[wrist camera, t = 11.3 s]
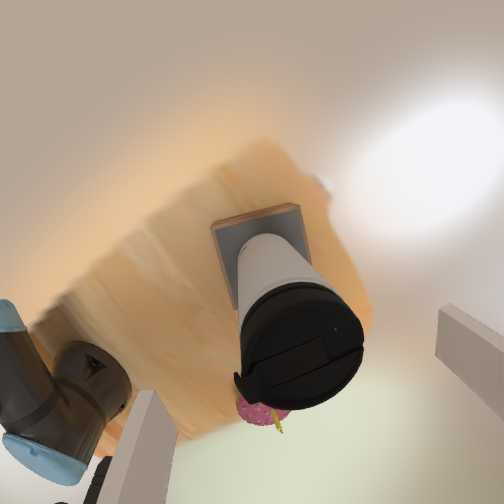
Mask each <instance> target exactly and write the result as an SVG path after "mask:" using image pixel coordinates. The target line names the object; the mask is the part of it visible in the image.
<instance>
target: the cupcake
mask: <svg viewBox="0 0 504 504" xmlns="http://www.w3.org/2000/svg"><path fill="white" fill-rule="evenodd" d="M236 407H237V410H238V413H239V415H240V416H241V418H243V419H244V420H246V421H247V423H252V424H255V425H258V426H264V425H270V424H271V425H272V424H274V423H275V425H276V428H277V430H278V431H280V432H281V433H283V432H282V427H281V425H280V422H279V421H280V420H282V419H284V418H285V417H286V416H287V415H288V414H289V413H290V412H291V411H289V410H279V409H274V408H271V407H268V406H266V405H264V404H262V403H261V402H259V403H255V404H252V405H249V404H248V403H247V401H246V400H245V399H244V398H243V396H242V395H241V393H240V392H239V394H238V397H237V400H236Z"/></svg>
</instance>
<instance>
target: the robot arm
mask: <svg viewBox="0 0 504 504" xmlns="http://www.w3.org/2000/svg"><path fill="white" fill-rule="evenodd" d="M27 330H28V329H27V327H26V326H24V324H23V322H22V320H21V318H20V316H19V314H18V312H17V310H16V308H15V306H14V305H13V304H12V303H11V302H10V301H8V300H5V299H1V300H0V424H1V425H2V426H3V427H4V429H5V430H6V433H4V434H3V439H2V442H3V444H4V445H5V448H6V449H7V450H8V451H9V453H10V454H11V455H12V456H13V457H14V458H16V459H17V460H18V461H19V462H20V463H22V464H23V465H24V466H26V467H27V468H28V469H30V470H31V471H33V472H34V473H36V474H38V475H40V476H41V477H43V478H45V479H47V480H50V481H52V482H55V483H57V484H60V485H65V486H74V485H76V484H78V483H79V481H80V480H81V478H82V476H83V474H84V472H85V471H86V470H87V469H88V465H89V463H90V460H91V458H92V456H93V453H94V451H95V448H96V446H97V444H98V441H99V439H100V437H101V435H102V432H103V430H104V428H105V426H106V424H107V423H108V422H109V421H111V420H112V419H113V418H114V417H116V416H117V415H118V414H119V413H120V412H122V411H123V410H124V409H125V407H126V406H127V404H128V401H129V399H130V397H131V384H130V381H129V379H128V376H127V375H126V373H125V371H124V370H123V368H122V367H121V366H120V365H119V363H118V362H117V361H116V360H115V359H114V358H113V357H111V356H110V355H109V354H108V353H106V352H105V351H103V350H102V349H100V348H98V347H96V346H94V345H92V344H89V343H85V342H71V343H68V344H67V345H65V346H64V347H63V348H62V349H61V350H60V351H59V352H58V354H57V356H56V358H55V361H54V364H53V367H52V370H51V373H50V372H49V370H48V369H47V367H46V365H45V364H44V362H43V360H42V358H41V357H40V355H39V353H38V351H37V349H36V348H35V346H34V344H33V342H32V340H31V338H30V336H29V334H28V331H27ZM437 331H438V332H437V341H436V351H435V356H436V357H437V358H438V359H440V360H441V361H442V362H443V363H444V364H445V365H446V366H447V367H448V368H449V369H451V371H453V372H454V373H455V374H456V375H457V376H458V377H459V378H460V379H461V380H462V381H463V382H465V384H466V385H468V386H469V387H470V388H471V389H472V390H473V391H474V392H475V393H476V394H477V395H478V396H479V397H480V398H481V399H482V400H483V401H484V402H485V403H486V404H487V405H488V406H490V408H491V409H492V410H493V411H494V412H495V413H497V414H498V416H499V417H500V418H501V419H502V420H503V421H504V337H503V336H502V335H500V334H499V333H497V332H495V331H494V330H492V329H491V328H489V327H488V326H486V325H485V324H483V323H481V322H480V321H478V320H476V319H475V318H473V317H472V316H470V315H469V314H467V313H465V312H463V311H462V310H460V309H459V308H457V307H455V306H454V305H452V304H448V305H446V306H443V307H441V308H439V316H438V330H437ZM177 434H178V428H177V427H176V425H175V424H174V422H173V420H172V419H171V417H170V415H169V414H168V412H167V410H166V409H165V407H164V405H163V404H162V402H161V400H160V398H159V397H158V395H157V393H156V391H155V389H150V390H139V392H138V395H137V397H136V400H135V402H134V404H133V407H132V409H131V412H130V414H129V417H128V419H127V422H126V424H125V427H124V429H123V432H122V434H121V437H120V439H119V442H118V445H117V447H116V450H115V452H114V455H113V456H105V457H104V458H103V460H102V461H101V462H100V463H99V464H98V466H97V469H96V471H95V474H94V475H95V476H94V477H93V479H92V481H91V482H92V484H91V485H90V487H89V489H88V492H87V495H86V497H85V500H84V503H83V504H165V502H166V496H167V490H168V484H169V477H170V472H171V466H172V461H173V455H174V450H175V444H176V439H177ZM55 504H68V503H64V502H58V503H55Z"/></svg>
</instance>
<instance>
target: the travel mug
mask: <svg viewBox="0 0 504 504" xmlns="http://www.w3.org/2000/svg"><path fill="white" fill-rule="evenodd" d="M238 313H239V340H240V348H241V367H242V370H241V377H240V376H239V374H238V373H237V372H235V373H234V381H235V384H236V386H237V388H238V390H239V392H240V393H241V395H242V396H243V398H244V399H245V400H246V401H247V403H248V404H249V405H252V404H255V403H259V402H261V403H262V404H264V405H266V406H268V407H271V408H274V409H279V410H289V411H292V410H302V409H306V408H310V407H314V406H316V405H318V404H320V403H323V402H325V401H327V400H328V399H330V398H332V397H333V396H335V395H336V394H337V393H338V392H340V391H341V390H342V389H343V388H344V387H345V386H346V385H347V384H348V383H349V382H350V381H351V379H352V378H353V377H354V375H355V374H356V372H357V371H358V368H359V367H360V365H361V363H362V358H363V351H364V347H363V342H364V333H363V328H362V325H361V323H360V320H359V319H358V318H357V317H356V315H355V314H354V313H353V311H352V310H351V309H350V308H349V306H348V305H347V304H346V303H345V302H344V300H343V299H342V298H341V296H340V295H339V294H338V293H337V292H336V291H335V290H334V289H333V288H332V287H331V286H330V285H329V283H328V282H327V281H326V280H325V279H324V278H323V277H322V276H321V275H320V274H319V273H318V272H317V271H316V270H315V269H314V268H313V267H312V266H311V265H310V264H309V263H308V262H307V261H306V260H305V259H304V258H303V257H302V256H301V255H300V254H299V253H298V252H297V251H296V250H295V249H294V248H293V247H292V246H291V245H290V244H289V242H288V241H286V240H285V239H284V238H283V237H281V236H279V235H277V234H274V233H260V234H256V235H254V236H252V237H250V238H249V239H248V240H247V241H246V242H245V243H244V244H243V245H242V247H241V249H240V251H239V254H238Z"/></svg>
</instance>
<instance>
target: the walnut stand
mask: <svg viewBox="0 0 504 504" xmlns="http://www.w3.org/2000/svg"><path fill="white" fill-rule="evenodd" d="M210 228H211V231H212V235H213V239H214V242H215V246H216V250H217V253H218V257H219V260H220V264H221V267H222V271H223V274H224V278H225V281H226V285H227V288H228V292H229V295H230V299H231V302H232V305H233V309H234V310H237V309H238V254H239V251H240V249H241V247H242V245H243V244H244V243H245V242H246V241H247V240H248V239H249V238H250V237H252V236H254V235H256V234H260V233H274V234H277V235H279V236H281V237H283V238H284V239H285V240H286V241H288V242H289V244H290V245H291V246H292V247H293V248H294V249H295V250H296V251H297V252H298V253H299V254H300V255H301V256H302V257H303V258H304V259H305V260H306V261H307V262H308V263H309V264H310V265H311V266H312V262H311V257H310V252H309V247H308V242H307V237H306V232H305V228H304V223H303V218H302V214H301V209H300V205H297V204H292V203H288V204H284V205H280V206H275V207H271V208H267V209H263V210H259V211H255V212H251V213H247V214H243V215H239V216H235V217H231V218H227V219H224V220H220V221H216V222H214V223H213V224H212V226H211V227H210Z"/></svg>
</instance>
